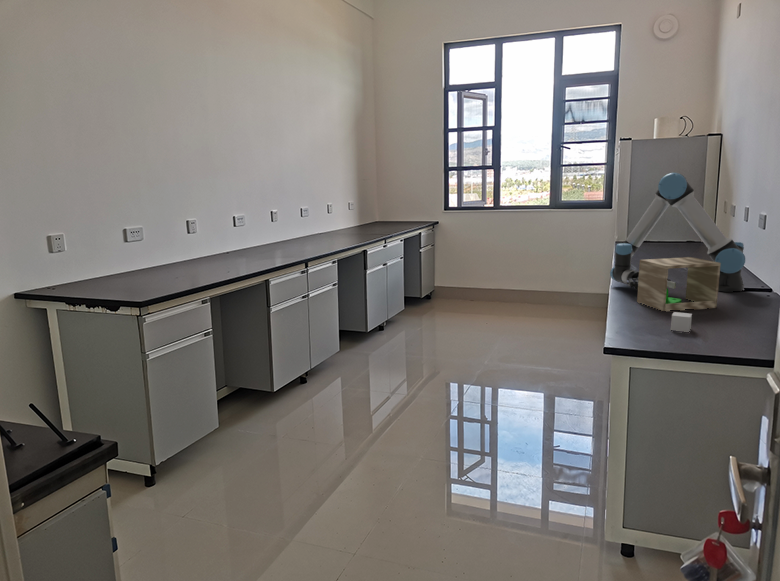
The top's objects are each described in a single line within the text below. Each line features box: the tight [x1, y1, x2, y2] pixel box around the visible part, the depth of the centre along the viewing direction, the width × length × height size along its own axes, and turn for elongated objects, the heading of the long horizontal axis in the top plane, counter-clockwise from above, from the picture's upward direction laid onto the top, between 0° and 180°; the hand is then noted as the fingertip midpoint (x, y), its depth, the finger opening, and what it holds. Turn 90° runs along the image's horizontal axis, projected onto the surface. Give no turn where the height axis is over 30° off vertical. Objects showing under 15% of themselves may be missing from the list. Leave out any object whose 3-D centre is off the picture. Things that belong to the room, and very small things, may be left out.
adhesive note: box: [670, 311, 693, 333], centre depth 207 cm, size 6×6×6 cm
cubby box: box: [636, 256, 721, 312], centre depth 244 cm, size 25×18×19 cm
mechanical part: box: [666, 287, 682, 304], centre depth 246 cm, size 12×6×8 cm, turn 130°
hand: (661, 286), depth 254 cm, fingers open, 13 cm apart
